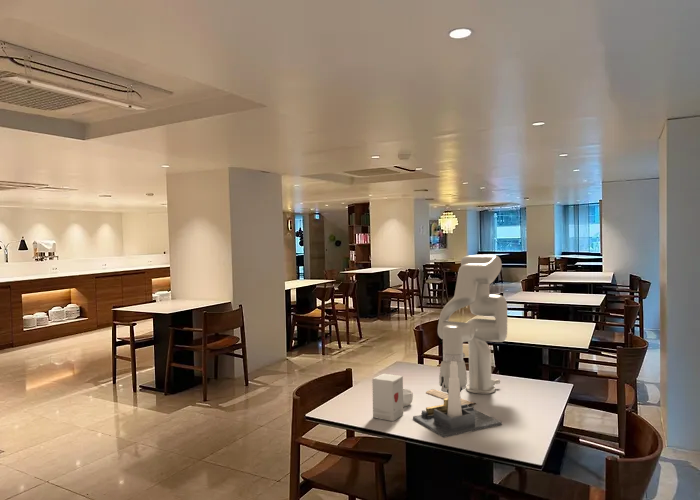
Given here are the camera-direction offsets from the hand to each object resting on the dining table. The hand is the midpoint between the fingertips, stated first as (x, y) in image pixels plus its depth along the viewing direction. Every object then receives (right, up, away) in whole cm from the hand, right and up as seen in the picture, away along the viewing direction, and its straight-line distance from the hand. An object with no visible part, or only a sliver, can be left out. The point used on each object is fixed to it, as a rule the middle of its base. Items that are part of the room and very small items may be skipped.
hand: (454, 405), depth 187 cm
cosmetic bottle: (-2, -3, -12) cm, 13 cm away
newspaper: (+3, -4, +19) cm, 20 cm away
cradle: (-1, -3, -9) cm, 9 cm away
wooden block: (-6, -2, -3) cm, 7 cm away
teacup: (-18, -4, +13) cm, 23 cm away
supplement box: (-25, -4, -1) cm, 26 cm away
